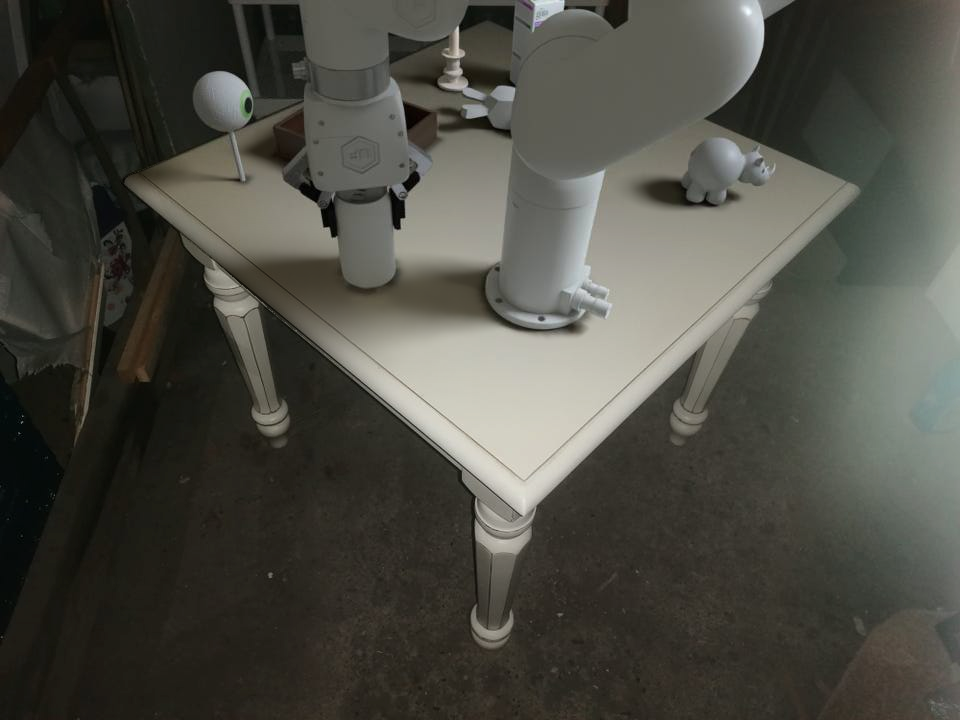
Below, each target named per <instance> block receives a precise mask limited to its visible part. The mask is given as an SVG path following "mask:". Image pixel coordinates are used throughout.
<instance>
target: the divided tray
mask: <svg viewBox="0 0 960 720" xmlns="http://www.w3.org/2000/svg"><path fill="white" fill-rule="evenodd" d="M402 102H403V108H404V114H405V121H406V129H407V139H409V140H410V141H411V142H413V143H414V144H415V145H417V146H418V147H420V148H421V149H422V150H424V151H425V150H426V149H427V148H428V147H430V146H431V145H432V144H434V143H435V142H436V141H437V140H438V112H437V111H434V110H432V109H429V108H427V107H423V106H420V105H417V104H415V103H411V102H408V101H406V100H403V99H402ZM271 128H272V131H273V136H274V142H275V146H276V152H277V155H278V156H281V157H283V158H286V159H288V160H290V161H292V159H293V158H294V157H295V156H296V155H297V154H298V153H299V152H300V151H301V150H302V149H303V148H304V147H305V146H306V140H305V129H304V106H303V107H301V108H299V109H298V110H297V111H294V112H293V113H292V114H290V115H288V116H286V117H285V118H284V119H282V120H280V121H279V122H277V123H275V124H274V125H272V127H271ZM410 162H412V160H411V159H410V158H409V163H410Z"/></svg>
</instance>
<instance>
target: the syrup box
mask: <svg viewBox="0 0 960 720" xmlns="http://www.w3.org/2000/svg"><path fill="white" fill-rule="evenodd" d="M514 4H515V5H514V15H513V16H514V17H513V29H512V30H513V31H512V43H511V44H512V45H511V57H510V71H509V81H510V82H512V83H513V84H514V86H516V80H517V75H518V69H519V64H520V59H521V56H522V53H523V50H524V47H525V45H526V43H527V41H528V39H529V38H530V36H531V35H532V33H533V32H534V30H535V29H536V28H537V27H538V26H539V25H540V24H541V23H542V22H543V21H544V20H546V19H547V18H548V17H550V16H552V15H554V14H556V13H558V12H561V11H564V10H565V9H564V8H565V0H515V3H514Z"/></svg>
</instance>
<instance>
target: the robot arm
mask: <svg viewBox="0 0 960 720" xmlns="http://www.w3.org/2000/svg"><path fill="white" fill-rule="evenodd" d="M795 1H796V0H628V5H627V6H628V7H627V20H626V21H625V22H623V23H622V24H620V25H619V26H618V27H616V28H614V27H613V26H612V25H611V24H610V23H609V22H608V21H607V19H605V18H604V17H602V16H601V15H599V14H597V13H595V12H594V11H590V10H587V9H581V8H570V9H564V10H563V11H561V12H558V13H556V14H554V15H552V16H550V17H548V18H547V19H546V20H544V21H543V22H542V23H541V24H540V25H539V26H538V27H537V28H536V29H535V30H534V32H533V33H532V35H531V36H530V38H529V39H528V41H527V43H526V45H525V47H524V50H523V53H522V56H521V59H520V64H519V69H518V75H517V80H516V85H514V86H515V87H514V88H515V94H514V99H513V104H512V111H511V130H510V134H511V140H512V144H511V145H512V146H511V154H510V165H509V174H508V175H509V176H508V181H507V193H506V203H505V214H504V224H503V235H502V245H501V255H500V260H499V261H498V262H497V263H496V264H494V265H493V266H492V268H491V269H489V272H488V274H487V275H486V278H485V279H486V280H485V296H486V299H487V302H488V303H489V305H490V307H491V308H492V309H493V310H494V311H495V312H496V313H497V314H498V315H499V316H501V317H502V318H503V319H505V320H506V321H508V322H511V323H512V324H515V325H517V326H520V327H524V328H528V329H533V330H552V329H553V330H554V329H559V328H563V327H566V326H568V325H570V324H572V323H574V322H576V321H577V320H579V319H580V318H581V317H582V316H583V315H584V314H585V313H586V311H587V312H588V313H590V314H591V315H594V316H596V317H598V318H601V319H603V320H606V319H607V318H608V317H609V315H610V312H611V310H612V307H613V303H611V302H609V301H607V299H608V297H609V294H610V291H611V290H610V289H609V288H607V287H605V286H602V285H598V284H596V283H593V279H590V274H591V269H592V267H591V266H590V265H587V264H585V263H586V259H587V258H586V257H587V253H588V249H589V245H590V239H591V236H592V231H593V225H594V221H595V218H596V217H595V216H596V212H597V208H598V203H599V197H600V195H601V194H600V193H601V190H602V187H603V182H604V177H605V174H606V170H608V169H610V168H612V167H613V166H616V165H618V164H620V163H622V162H623V161H625V160H628V159H629V158H631V157H633V156H635V155H637V154H639V153H641V152H643V151H646V149H649V148H650V147H652V146H654V145H656V144H658V143H660V142H663V141H664V140H666V139H668V138H670V137H672V136H673V135H675V134H677V133H679V132H681V131H683V130H685V129H686V128H689V127H690V126H693V125H694V124H696V123H698V122H701V120H703V119H705V118H707V117H708V116H710V115H711V114H713V113H715V112H716V111H718V110H719V109H720V108H722V107H723V106H725V104H727V103H728V102H729V101H731V99H732V98H734V97H735V96H736V95H737V94H738V93H739V91H741V89H742V88H743V87H744V86H745V84H746V83H748V80H749V79H750V77H751V76H752V74H753V73H754V71H755V70H756V68H757V65H758V63H759V61H760V58H761V55H762V51H763V48H764V41H765V22H764V21H765V20H766V19H768V18H769V17H770V16H772V15H775V14H776V13H777V12H779V11H780V10H782V9H784V8H785V7H787V6H789V5H790V4H792V3H794V2H795ZM470 2H471V0H298V5H299V12H300V19H301V25H302V33H303V40H304V48H305V55H306V56H304V57H303V60H300V61H299V62H292V63H291V67H292V74H293V79H295V80H296V79H297V80H299V79H301V80H302V81H305V80H306V83H305V85H304V89H303V90H304V94H303V107H304V129H305V140H306V146H305V147H304V148H303V149H302V150H301V151H300V152H299V153H298V154H297V155H296V156H295V157H294V158H293V159H292V160H290V161H289V162H288V163H287V165H286V166H285V167H283V169H282V170H281V171H282V172H281V173H282V180H283V181H284V182H285V183H286V184H287V185H289V186H291V188H293V189H295V190H297V191H299V192H300V194H301V195H303V196H304V197H305V198H307V199H308V200H310V201H312V202H313V203H314V204H316V205H317V208H319V211H320V216H321V223H322V228H323V229H325V228H326V229H327V228H329V232H330V238H331V239H337V236H338V234H337V227H336V219H335V212H334V206H333V196H334V193H335V191H346V190H356V189H366V188H375V187H384V186H387V187H389V188H388V193H389V194H390V196H391V201H392V213H393V230H396V231H400V230H402V222H401V219H402V220H404V219H406V199H407V198H408V197H409V193H410V192H411V190H413V189H414V188H415V187H416V186H417V185H418V184H419V183H420V181H421V179H422V177H425V175H426V174H427V173H428V172H429V171H430V170H431V168H432V167H433V166H434V161H433V159H432V156H431V155H430V154H429V153H427V151H425V150H422V149H421V148H420V147H418V146H417V145H415V144H414V143H413V142H411V141H410V140H409V139H407V129H406V121H405V114H404V108H403V102H402V100H403V98H402V93H401V90H400V87H399V84H397V81H396V80H395V79H394V78H393V77H392V76H391V63H390V45H389V34H392V35H395V36H398V37H401V38H405V39H408V40H412V41H417V42H435V41H440V40H442V39H445V38H446V37H449V35H450V34H451V33H452V32H453V31H454V30H455V29H456V28H457V27H458V26H460V25H461V23H462V21H463V19H464V17H465V15H466V12H467V10H468V8H469V7H468V6H469V4H470ZM409 158H410V159H411V161H412V162H413V164H412V166H410V162H409ZM308 168H309V173H310V178H311V179H310V178H309V177H306V176H304V175H303V173H304V172H305V171H306V170H307V169H308Z"/></svg>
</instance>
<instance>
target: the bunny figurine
mask: <svg viewBox="0 0 960 720" xmlns="http://www.w3.org/2000/svg"><path fill="white" fill-rule="evenodd" d="M514 94H515V87H514V86H509V85H498V86H496V87H495V89H493V90H492V91H491V93H490V94H488V95H487V94H485V93H483V92H481V91H478V90H476V89H474V88H473V87H472V88H471V87H468V86H467V87H466V88H464V89H463V90H461V97H462V98H464V99H467V100H472V101H475V102H477V103H482V104H463V105H461V110H460V115H461V117H462V118H464V119H468V120H469V119H475V118H480V117H485V116H486V117H487V119H488V120H489V122H490V124H491V125H492V127H494V128H496V129H501V130H508V131H511V111H512V104H513V99H514Z"/></svg>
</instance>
